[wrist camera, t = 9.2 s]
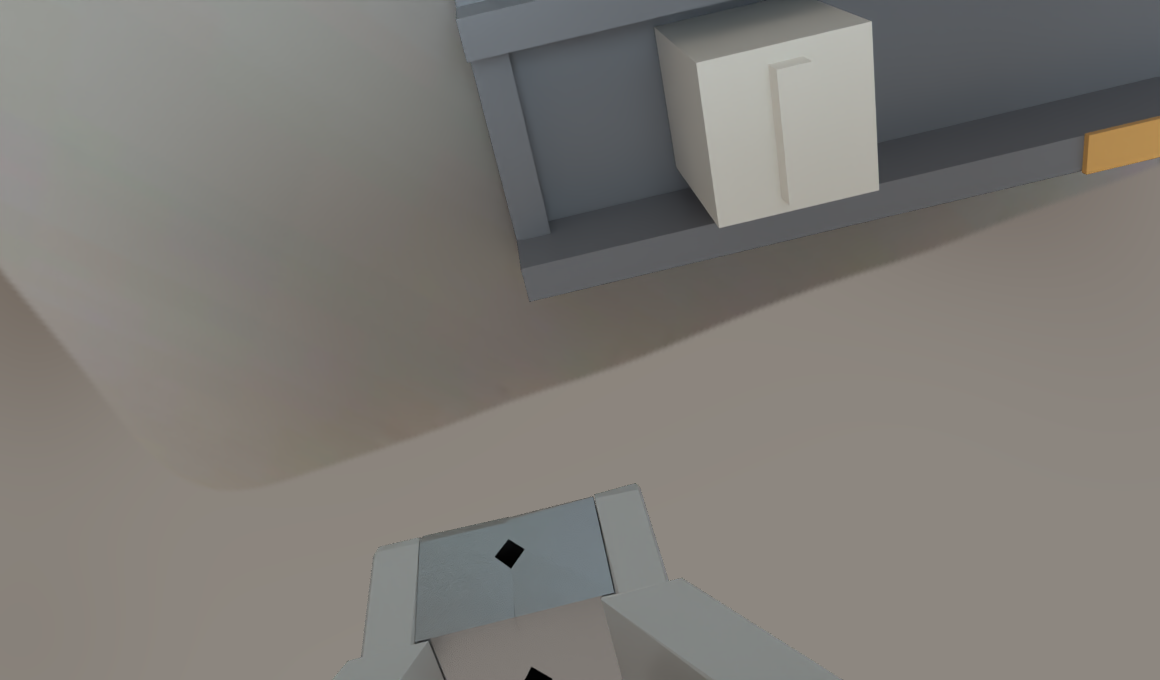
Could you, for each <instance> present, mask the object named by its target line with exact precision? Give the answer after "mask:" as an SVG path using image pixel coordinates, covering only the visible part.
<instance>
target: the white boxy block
mask: <svg viewBox="0 0 1160 680" xmlns="http://www.w3.org/2000/svg"><path fill="white" fill-rule="evenodd" d="M654 30H655V36H656V43H657V49H658V55H659V61H660V68H661V74H662V80H663V87H664V93H665V99H666V106H667V112H668V118H669V125H670V131H671V137H672V144H673V150H674V156H675V162H676V168H677V169H678V170H679V172H680V173H681V175H682V176H683V178H684V179H685V180H686V182H687V183H688V185H689V186H690V187H691V189H692V190H693V192H694V193H695V195H696V196H697V197H698V199H699V200H700V202H701V203H702V205H703V206H704V207H705V209H706V210H707V212H708V213H709V215H710V216H711V217H712V219H713V220H714V222H715V223H716V225H717V226H718V227H719V228H722V227H726V226H731V225H735V224H739V223H743V222H747V221H752V220H756V219H760V218H764V217H769V216H773V215H777V214H781V213H785V212H790V211H794V210H798V209H802V208H806V207H811V206H815V205H819V204H823V203H828V202H832V201H836V200H840V199H844V198H849V197H853V196H857V195H861V194H865V193H870V192H874V191H878V190H879V173H878V150H877V127H876V105H875V82H874V60H873V37H872V21H869V20H867V19H864V18H862V17H859V16H856V15H854V14H851V13H849V12H846V11H843V10H841V9H838V8H836V7H833V6H830V5H828V4H825V3H823V2H820V1H817V0H766V1H762V2H758V3H754V4H749V5H745V6H741V7H737V8H732V9H728V10H724V11H720V12H716V13H711V14H707V15H703V16H699V17H694V18H690V19H686V20H682V21H677V22H673V23H669V24H665V25H661V26H656V27H654Z"/></svg>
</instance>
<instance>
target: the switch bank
mask: <svg viewBox="0 0 1160 680" xmlns="http://www.w3.org/2000/svg"><path fill="white" fill-rule="evenodd" d="M762 1H766V0H455V4H456V22H457V26H458V30H459V34H460V38H461V42H462V45H463V49H464V53H465V57H466V61H467V63H468V62H471V66H472V70H473V73H474V77H475V81H476V85H477V89H478V93H479V97H480V100H481V104H482V108H483V112H484V116H485V120H486V124H487V127H488V131H489V135H490V139H491V143H492V147H493V151H494V155H495V158H496V162H497V166H498V170H499V174H500V178H501V182H502V185H503V189H504V193H505V197H506V201H507V205H508V209H509V212H510V216H511V220H512V224H513V228H514V232H515V236H516V239H517V245H518V252H519V259H520V266H521V271H522V275H523V279H524V283H525V287H526V290H527V294H528V298H529V302H531V301H535V300H540V299H544V298H548V297H552V296H556V295H561V294H565V293H569V292H573V291H577V290H582V289H586V288H590V287H594V286H598V285H603V284H607V283H611V282H615V281H620V280H624V279H628V278H632V277H636V276H641V275H645V274H649V273H653V272H657V271H662V270H666V269H670V268H674V267H678V266H683V265H687V264H691V263H695V262H700V261H704V260H708V259H712V258H716V257H721V256H725V255H729V254H733V253H737V252H742V251H746V250H750V249H754V248H758V247H763V246H767V245H771V244H775V243H779V242H784V241H788V240H792V239H796V238H801V237H805V236H809V235H813V234H817V233H822V232H826V231H830V230H834V229H838V228H843V227H847V226H851V225H855V224H859V223H864V222H868V221H872V220H876V219H881V218H885V217H889V216H893V215H897V214H902V213H906V212H910V211H914V210H918V209H923V208H927V207H931V206H935V205H939V204H944V203H948V202H952V201H956V200H961V199H965V198H969V197H973V196H977V195H982V194H986V193H990V192H994V191H998V190H1003V189H1007V188H1011V187H1015V186H1019V185H1024V184H1028V183H1032V182H1036V181H1041V180H1045V179H1049V178H1053V177H1057V176H1062V175H1066V174H1070V173H1074V172H1078V171H1082V173H1084V174H1086V175H1087V174H1091V173H1095V172H1099V171H1104V170H1108V169H1112V168H1116V167H1120V166H1125V165H1129V164H1133V163H1137V162H1141V161H1146V160H1150V159H1154V158H1158V157H1160V0H817V1H820V2H823V3H825V4H828V5H830V6H833V7H836V8H838V9H841V10H843V11H846V12H849V13H851V14H854V15H856V16H859V17H862V18H864V19H867V20H869V21H872V37H873V60H874V82H875V105H876V127H877V150H878V173H879V190H878V191H874V192H870V193H865V194H861V195H857V196H853V197H849V198H844V199H840V200H836V201H832V202H828V203H823V204H819V205H815V206H811V207H806V208H802V209H798V210H794V211H790V212H785V213H781V214H777V215H773V216H769V217H764V218H760V219H756V220H752V221H747V222H743V223H739V224H735V225H731V226H726V227H722V228H719V227H718V226H717V225H716V223H715V222H714V220H713V219H712V217H711V216H710V215H709V213H708V212H707V210H706V209H705V207H704V206H703V205H702V203H701V202H700V200H699V199H698V197H697V196H696V195H695V193H694V192H693V190H692V189H691V187H690V186H689V185H688V183H687V182H686V180H685V179H684V178H683V176H682V175H681V173H680V172H679V170H678V169H677V168H676V162H675V156H674V150H673V144H672V137H671V131H670V125H669V118H668V112H667V106H666V99H665V93H664V87H663V80H662V74H661V68H660V61H659V55H658V49H657V43H656V36H655V30H654V27H656V26H661V25H665V24H669V23H673V22H677V21H682V20H686V19H690V18H694V17H699V16H703V15H707V14H711V13H716V12H720V11H724V10H728V9H732V8H737V7H741V6H745V5H749V4H754V3H758V2H762Z"/></svg>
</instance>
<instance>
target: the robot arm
mask: <svg viewBox="0 0 1160 680" xmlns="http://www.w3.org/2000/svg"><path fill="white" fill-rule="evenodd" d="M595 502H596V505H595ZM596 507H597V509H596ZM597 511H598V512H597ZM598 515H599V516H598ZM333 680H842V679H841V678H839V677H838V676H836V675H834V674H833V673H831V672H830V671H828V670H827V669H825V668H823V667H822V666H820V665H819V664H817V663H815V662H814V661H813V660H811V659H809V658H808V657H806V656H805V655H803V654H802V653H800V652H798V651H797V650H795V649H794V648H792V647H790V646H789V645H787V644H786V643H784V642H782V641H781V640H779V639H778V638H776V637H775V636H773V635H771V634H770V633H768V632H767V631H765V630H764V629H762V628H760V627H759V626H757V625H756V624H754V623H753V622H751V621H749V620H748V619H746V618H745V617H743V616H742V615H740V614H738V613H737V612H735V611H734V610H732V609H730V608H729V607H727V606H726V605H724V604H723V603H721V602H719V601H718V600H716V599H715V598H713V597H712V596H710V595H708V594H707V593H705V592H704V591H702V590H701V589H699V588H697V587H696V586H694V585H693V584H691V583H689V582H688V581H686V580H685V579H683V578H679V579H675V580H670V581H669V580H668V576H667V573H666V570H665V567H664V563H663V560H662V557H661V554H660V550H659V547H658V544H657V541H656V537H655V534H654V531H653V528H652V524H651V521H650V518H649V515H648V511H647V508H646V505H645V502H644V499H643V495H642V492H641V489H640V487H639V486H638V485H637V484H636V483H634V484H630V485H627V486H623V487H619V488H616V489H612V490H608V491H605V492H601V493H598V494H595V501H594V497H593V496H592V497H588V498H584V499H580V500H576V501H572V502H569V503H564V504H560V505H556V506H552V507H548V508H545V509H540V510H536V511H532V512H529V513H525V514H521V515H517V516H513V517H507V518H502V519H497V520H493V521H488V522H484V523H480V524H475V525H470V526H466V527H461V528H457V529H453V530H448V531H444V532H439V533H435V534H430V535H426V536H423V537H422V538H415V539H410V540H406V541H402V542H397V543H393V544H389V545H385V546H381V547H379V548H378V549H377V551H376V553H375V554H374V556H373V562H372V570H371V579H370V586H369V595H368V603H367V611H366V620H365V628H364V637H363V645H362V653H361V658H358V659H353V660H350V661H347V662H346V664H345V665H344V666H343V667H342V669H341V670H340V671H339V672H338V673H337V675H336V676H335V677H334V678H333Z"/></svg>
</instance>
